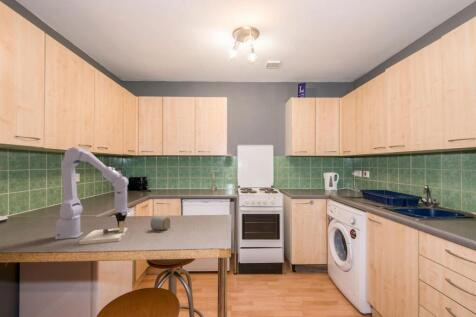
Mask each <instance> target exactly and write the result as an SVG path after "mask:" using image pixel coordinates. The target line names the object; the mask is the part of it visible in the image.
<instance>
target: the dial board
mask: <svg viewBox="0 0 476 317" xmlns="http://www.w3.org/2000/svg"><path fill="white" fill-rule="evenodd" d="M107 229H108V231H112V230H119V227H117V228H107ZM103 230H104V229H94V230H93V231H91V232H89V233H87V235H86V236H84V237H82V239H81V240H79V245H89V244H101V243H111V242H120V240H121V239H122V238H123V237H124V235H126V233H127V232H128V227H124V231H123V232H113V233H106V234H103ZM126 231H127V232H126ZM125 232H126V233H125ZM122 236H123V237H122ZM121 237H122V238H121Z"/></svg>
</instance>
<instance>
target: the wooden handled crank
mask: <svg viewBox="0 0 476 317" xmlns="http://www.w3.org/2000/svg"><path fill="white" fill-rule="evenodd" d="M118 228H119V230H112V231H108V229H109V228H105V229H102V230H103V234H106V233H113V232H123V231H124V228H125V221H124V220H123V221H119V227H118Z"/></svg>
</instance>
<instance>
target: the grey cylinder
mask: <svg viewBox="0 0 476 317" xmlns="http://www.w3.org/2000/svg"><path fill="white" fill-rule="evenodd" d="M150 219H151V220H150V228H151V229H152V230H153V229H155V230H156V231H167V230H168V229H169V228H170V227H171V219H170V217H169V216H165V215H160V214H159V215H158V214H154V215H153V216H152V217H151V218H150Z"/></svg>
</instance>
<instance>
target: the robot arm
mask: <svg viewBox="0 0 476 317" xmlns="http://www.w3.org/2000/svg"><path fill="white" fill-rule="evenodd" d="M82 162H86V163H87V162H88V163H89V164H90V165H92V166H93V167H94V168H95V169H97V170H99V171H100V172H101V176H102V177H103V178H105V179H106V180H107V181H109V182H110V183H111V184H112V187H113V188H114V208H113V210H114V211H113V212H114V216H115V219H116V222H117V228H119V221H123V220H124V222H125V221H126V218H127V216H128V212H127V211H129V210H130V207H128V185H129V182H130V181H129V179H128V178H127V177H126V176H123V174H122V173H119V172H118V171H116V168H115V167H111V166H107V165H105V163H103V162H102V161H101V160H100V159H99V158H98V157H97V156H95V155H94V154H93V153H92V152H91V151H88V149H86V148H80V147H74V146H72V147H69V148H68V149H67V150H66V151H65V152H64V156H63V159H62V162H61V163H60V164H61V165H60V166H61V177H62V178H61V179H62V190H63V201H62V202H61V204H60V209H59V217H60V219H58V220H57V221H56V224H55V237H54V240H65V239H77V238H79V237H80V236H82V235H83V234H84V232H81V215H82V213H83V211H84V207H83V205H82V204H81V203H82V202H81V200H80V199H79V198H78V190H77V179H76V167H77V166H78V165H79V164H81V163H82Z"/></svg>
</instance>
